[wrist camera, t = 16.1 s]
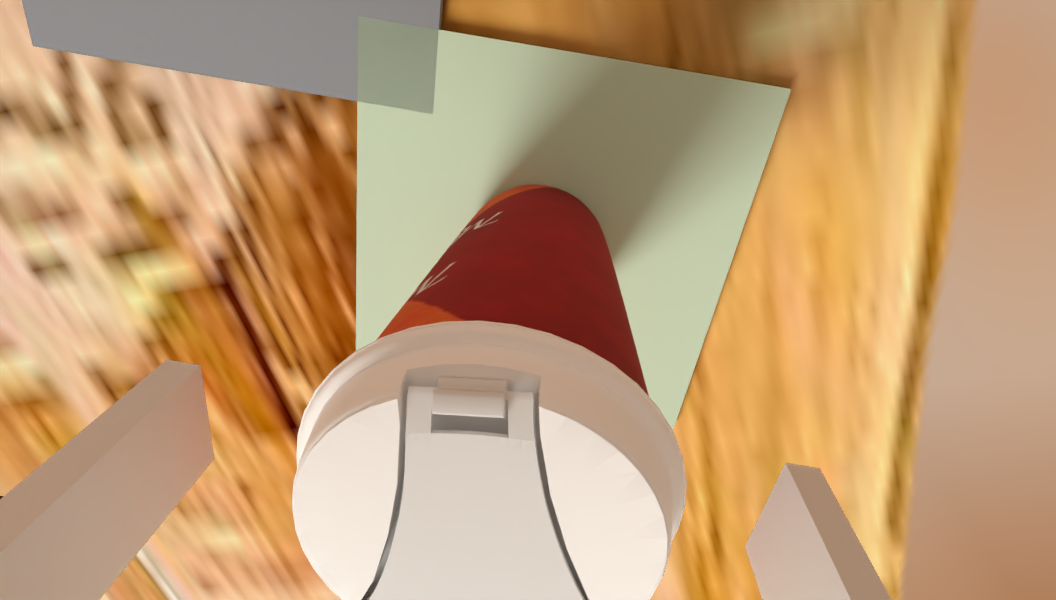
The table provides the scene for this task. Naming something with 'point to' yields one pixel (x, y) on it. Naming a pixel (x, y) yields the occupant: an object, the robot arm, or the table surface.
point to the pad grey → (243, 38)
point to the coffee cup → (495, 429)
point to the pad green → (562, 174)
